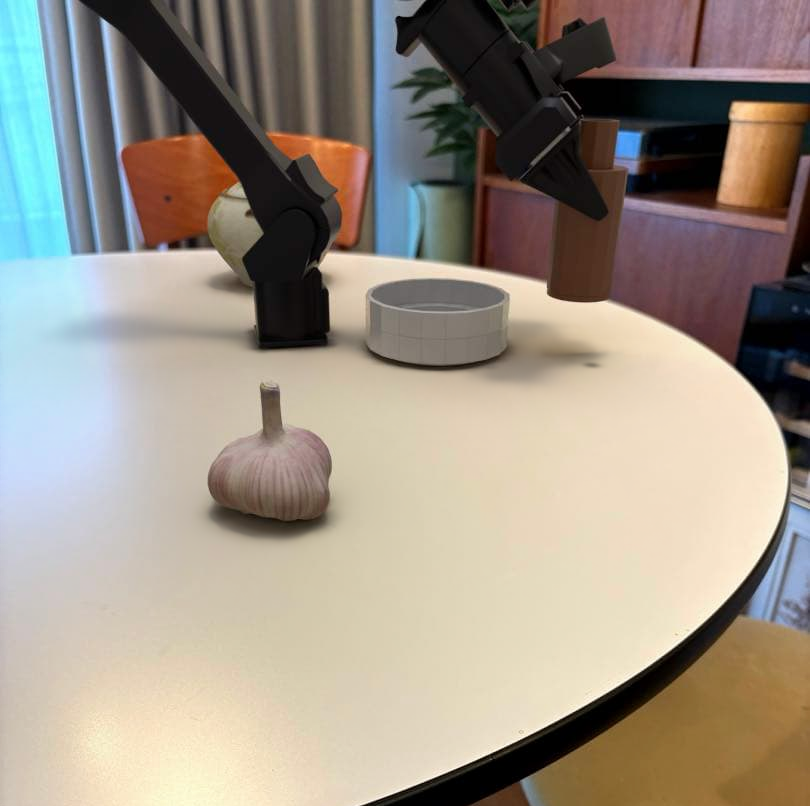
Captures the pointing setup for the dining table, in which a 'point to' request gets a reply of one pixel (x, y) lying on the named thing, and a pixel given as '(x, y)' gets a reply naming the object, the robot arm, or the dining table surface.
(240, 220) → the sugar bowl
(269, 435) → the garlic bulb
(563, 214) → the bottle
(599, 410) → the dining table surface
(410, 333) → the dish
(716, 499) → the dining table surface
